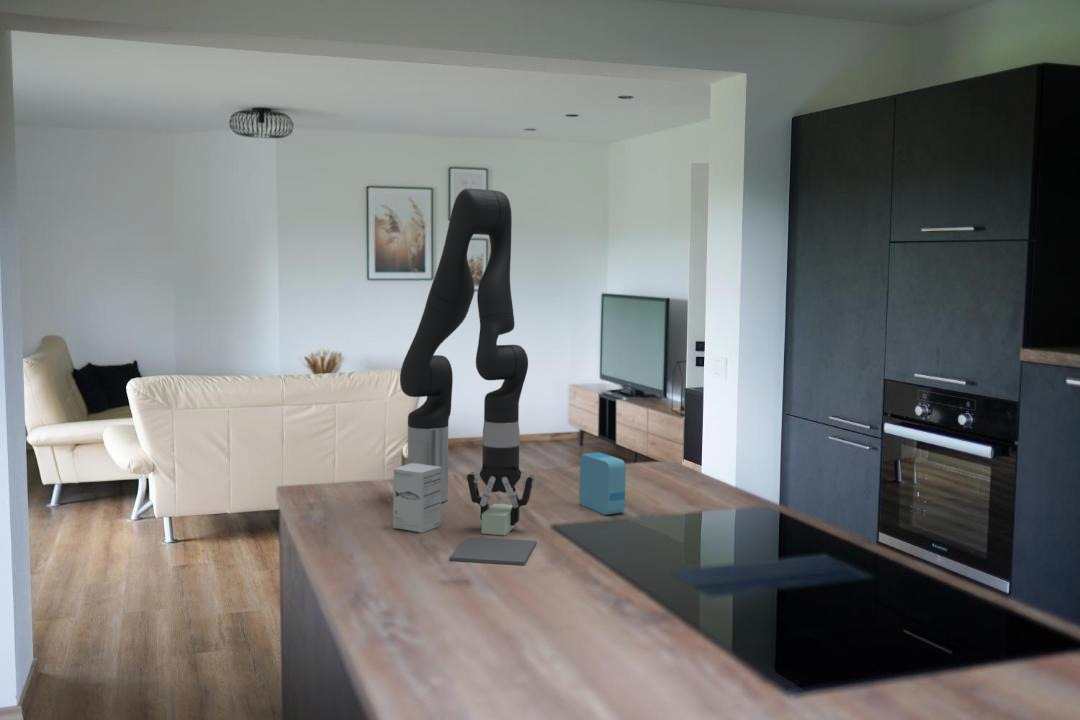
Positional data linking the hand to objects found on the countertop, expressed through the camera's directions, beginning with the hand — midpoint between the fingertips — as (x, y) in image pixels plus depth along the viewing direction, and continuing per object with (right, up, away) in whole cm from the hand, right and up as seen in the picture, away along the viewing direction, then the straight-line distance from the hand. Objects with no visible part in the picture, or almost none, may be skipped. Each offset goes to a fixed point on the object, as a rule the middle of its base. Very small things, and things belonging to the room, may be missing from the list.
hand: (499, 523), depth 203 cm
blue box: (+22, 0, +18) cm, 28 cm away
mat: (0, -3, -16) cm, 16 cm away
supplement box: (-17, -1, +1) cm, 17 cm away
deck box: (0, -1, 0) cm, 1 cm away
